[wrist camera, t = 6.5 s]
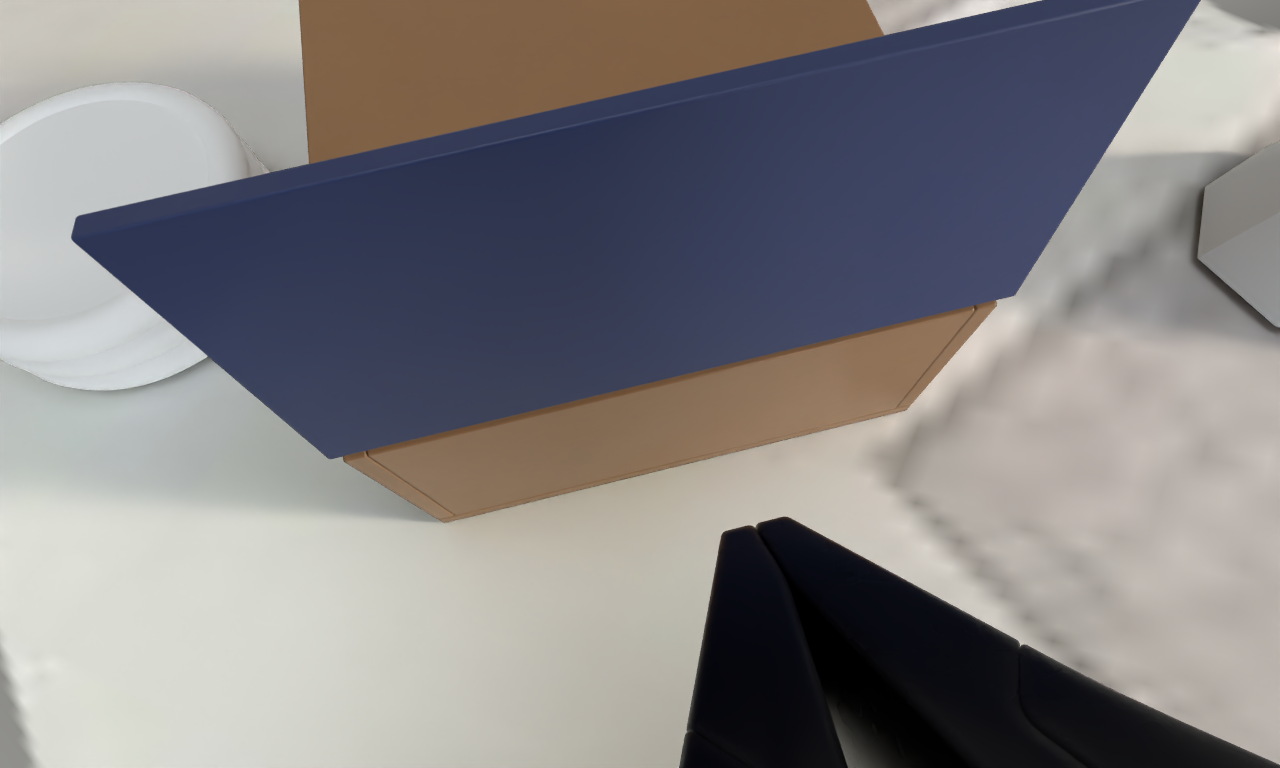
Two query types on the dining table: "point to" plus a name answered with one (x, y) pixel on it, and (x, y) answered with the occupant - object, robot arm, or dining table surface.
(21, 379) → the dining table surface
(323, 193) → the flap
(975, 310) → the carton
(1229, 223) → the flask
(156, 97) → the white round disc
